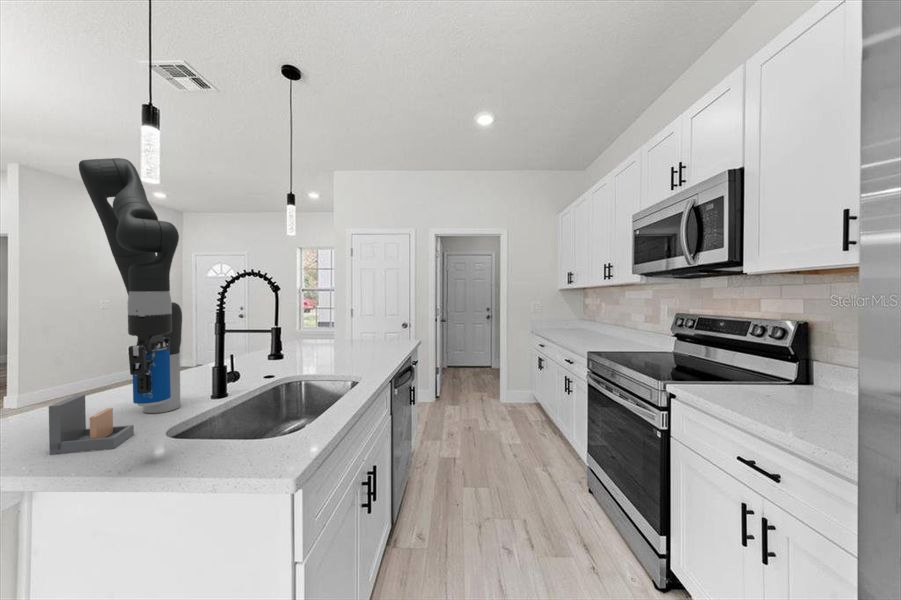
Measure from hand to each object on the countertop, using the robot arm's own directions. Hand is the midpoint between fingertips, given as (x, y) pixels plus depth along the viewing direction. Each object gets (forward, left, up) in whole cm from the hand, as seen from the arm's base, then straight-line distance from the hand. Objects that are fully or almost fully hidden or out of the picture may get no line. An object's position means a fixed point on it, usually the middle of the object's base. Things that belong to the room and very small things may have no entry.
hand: (151, 388), depth 84 cm
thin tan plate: (-14, -16, -14) cm, 25 cm away
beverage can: (0, 0, -3) cm, 3 cm away
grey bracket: (-14, -17, -16) cm, 27 cm away
